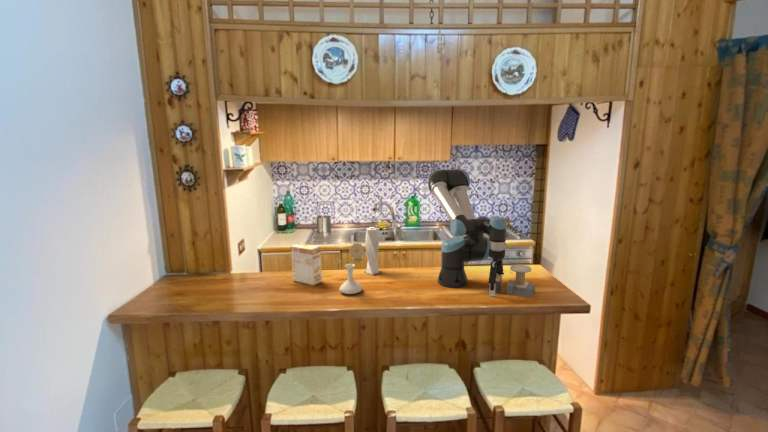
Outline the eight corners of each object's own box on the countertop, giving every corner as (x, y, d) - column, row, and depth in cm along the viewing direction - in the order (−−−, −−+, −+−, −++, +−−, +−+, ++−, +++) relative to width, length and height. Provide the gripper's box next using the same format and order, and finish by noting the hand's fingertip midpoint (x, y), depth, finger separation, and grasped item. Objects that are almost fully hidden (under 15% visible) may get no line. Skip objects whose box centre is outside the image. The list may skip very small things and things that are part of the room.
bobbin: (507, 287, 207) (508, 269, 205) (511, 280, 216) (512, 263, 214) (528, 290, 202) (529, 271, 201) (531, 283, 211) (532, 266, 209)
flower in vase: (339, 297, 198) (338, 246, 193) (338, 288, 209) (337, 240, 204) (366, 295, 200) (365, 245, 195) (364, 286, 211) (363, 239, 206)
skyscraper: (383, 272, 232) (382, 224, 226) (373, 276, 226) (372, 226, 220) (372, 269, 237) (371, 222, 232) (362, 273, 232) (361, 224, 226)
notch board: (505, 293, 199) (506, 285, 198) (509, 288, 206) (509, 280, 205) (531, 297, 193) (532, 289, 192) (534, 292, 200) (535, 284, 199)
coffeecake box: (322, 281, 219) (320, 246, 215) (313, 285, 213) (311, 249, 210) (301, 276, 227) (299, 242, 223) (292, 280, 221) (290, 245, 217)
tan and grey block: (490, 292, 200) (490, 278, 199) (492, 289, 204) (492, 276, 203) (498, 294, 198) (499, 280, 197) (500, 291, 202) (501, 277, 201)
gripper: (499, 256, 185) (497, 301, 189) (510, 244, 206) (508, 284, 210) (482, 254, 188) (481, 298, 192) (495, 242, 209) (494, 282, 213)
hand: (495, 291), depth 201 cm, fingers open, 12 cm apart
